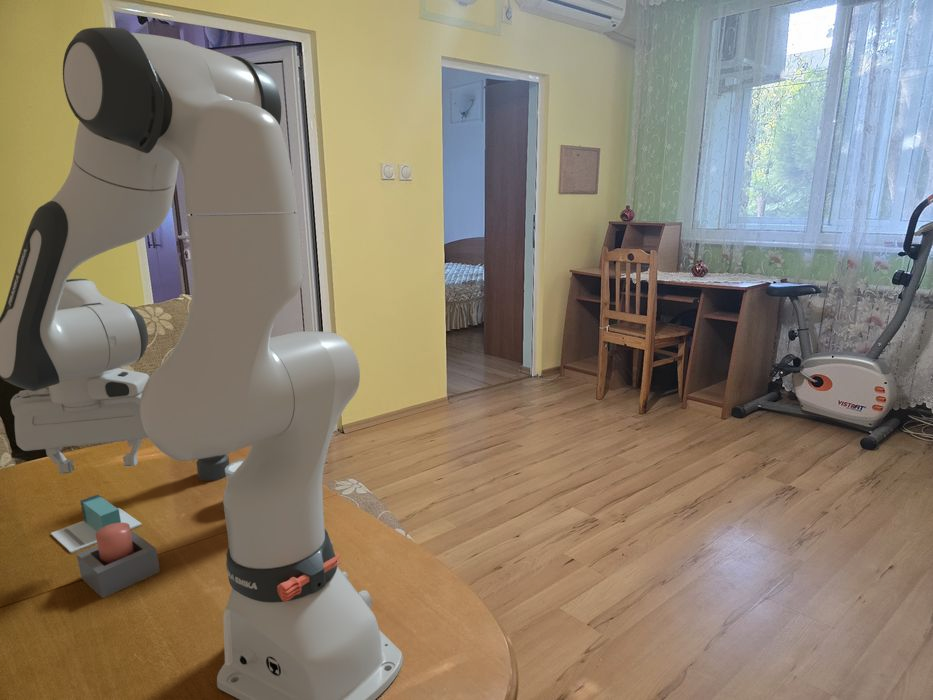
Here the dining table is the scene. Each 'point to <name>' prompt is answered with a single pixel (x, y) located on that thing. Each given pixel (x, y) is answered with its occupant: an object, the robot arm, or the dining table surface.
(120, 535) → the button
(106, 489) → the dining table surface
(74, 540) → the sketch sheet
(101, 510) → the teal rectangular block
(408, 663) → the dining table surface
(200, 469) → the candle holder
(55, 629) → the dining table surface
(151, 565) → the button box
